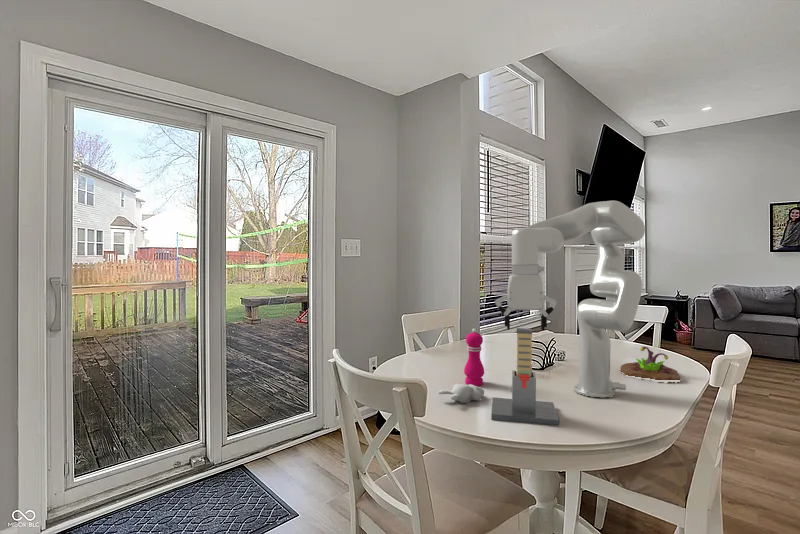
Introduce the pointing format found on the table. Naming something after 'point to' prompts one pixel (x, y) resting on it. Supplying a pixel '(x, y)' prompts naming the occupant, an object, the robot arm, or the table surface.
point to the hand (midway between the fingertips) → (525, 329)
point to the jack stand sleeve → (524, 404)
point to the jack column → (524, 351)
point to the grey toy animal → (464, 393)
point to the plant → (650, 368)
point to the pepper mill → (474, 359)
